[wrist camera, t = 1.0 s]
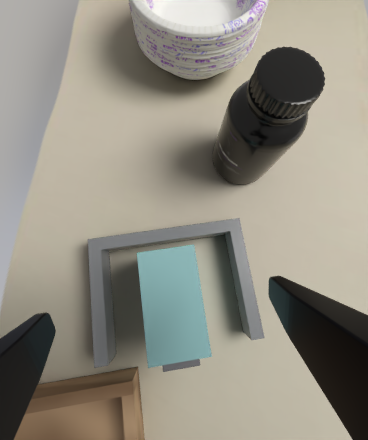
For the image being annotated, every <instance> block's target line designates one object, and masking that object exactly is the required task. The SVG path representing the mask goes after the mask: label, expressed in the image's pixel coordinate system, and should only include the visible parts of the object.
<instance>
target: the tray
mask: <svg viewBox="0 0 368 440" xmlns="http://www.w3.org/2000/svg"><path fill="white" fill-rule="evenodd" d="M14 440H145V439H144V428H143V417H142V406H141V395H140V384H139V373H138V367H135V368H129V369H124V370H118V371H112V372H107V373H101V374H95V375H90V376H84V377H79V378H73V379H67V380H62V381H56V382H50V383H45V384H39V385H37V387H36V390H35V392H34V394H33V397H32V399H31V401H30V403H29V406H28V408H27V410H26V413H25V415H24V417H23V420H22V422H21V424H20V427H19V429H18V431H17V434H16V436H15V438H14Z"/></svg>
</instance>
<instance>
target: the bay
mask: <svg viewBox="0 0 368 440" xmlns="http://www.w3.org/2000/svg"><path fill="white" fill-rule="evenodd" d="M219 235H225V238H226V243H227V248H228V254H229V259H230V264H231V269H232V275H233V280H234V285H235V290H236V296H237V301H238V306H239V311H240V317H241V322H242V327H243V332H244V333H245V334H246V335H247V336H248V337H249V338H250V339H251V340H256V339H262V338H264V334H263V329H262V324H261V319H260V314H259V310H258V305H257V300H256V295H255V291H254V286H253V281H252V276H251V271H250V267H249V262H248V257H247V252H246V247H245V243H244V238H243V233H242V228H241V223H240V219H239V218H236V219H229V220H222V221H215V222H208V223H201V224H194V225H187V226H179V227H172V228H165V229H158V230H151V231H144V232H137V233H130V234H122V235H115V236H108V237H101V238H94V239H88V254H89V273H90V293H91V313H92V332H93V352H94V368H96V367H102V366H107V365H109V363H110V362H111V361H112V359H113V358H114V356H115V355H116V342H115V328H114V314H113V300H112V286H111V272H110V258H109V251H115V250H122V249H129V248H136V247H143V246H150V245H157V244H164V243H171V242H178V241H185V240H192V239H199V238H206V237H212V236H219Z"/></svg>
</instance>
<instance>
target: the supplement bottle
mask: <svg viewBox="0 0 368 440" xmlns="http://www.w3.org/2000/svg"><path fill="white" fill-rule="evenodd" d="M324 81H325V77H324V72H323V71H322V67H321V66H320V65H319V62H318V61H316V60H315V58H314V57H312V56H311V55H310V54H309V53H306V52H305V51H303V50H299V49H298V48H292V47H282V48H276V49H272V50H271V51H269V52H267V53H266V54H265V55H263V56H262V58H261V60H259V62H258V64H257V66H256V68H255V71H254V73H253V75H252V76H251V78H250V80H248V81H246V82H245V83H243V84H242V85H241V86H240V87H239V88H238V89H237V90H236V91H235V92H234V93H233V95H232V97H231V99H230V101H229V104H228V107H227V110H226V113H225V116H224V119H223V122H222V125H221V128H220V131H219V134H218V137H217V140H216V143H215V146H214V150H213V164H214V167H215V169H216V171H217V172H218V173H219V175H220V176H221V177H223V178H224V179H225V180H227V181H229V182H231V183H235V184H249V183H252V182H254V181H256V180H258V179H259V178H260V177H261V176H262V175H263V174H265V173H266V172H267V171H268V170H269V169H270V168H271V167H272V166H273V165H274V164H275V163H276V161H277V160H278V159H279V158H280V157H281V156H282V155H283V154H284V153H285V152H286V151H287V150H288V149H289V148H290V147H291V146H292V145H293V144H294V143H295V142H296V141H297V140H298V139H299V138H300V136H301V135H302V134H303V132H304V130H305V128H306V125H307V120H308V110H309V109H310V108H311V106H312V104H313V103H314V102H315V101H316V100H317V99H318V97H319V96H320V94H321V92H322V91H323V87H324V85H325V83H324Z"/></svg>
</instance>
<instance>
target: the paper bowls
mask: <svg viewBox="0 0 368 440" xmlns="http://www.w3.org/2000/svg"><path fill="white" fill-rule="evenodd" d="M268 1H269V0H129V5H130V11H131V16H132V20H133V25H134V31H135V35H136V38H137V42H138V44H139V47H140V48H141V50H142V51H143V53H144V54H145V55H146V56H147V57H148V58H149V59H150V60H151V61H152V62H153V63H155V64H156V65H158V66H159V67H160V68H162V69H164V70H166V71H168V72H171V73H173V74H174V75H176V76H179V77H181V78H185V79H191V80H200V79H206V78H210V77H212V76H215V75H217V74H219V73H221V72H224V71H227V70H229V69H231V68H233V67H235V66H236V65H238V64H239V63H240V62H241V61H242V60H244V59H245V58H246V56H247V55H248V54H249V52H250V51H251V49H252V47H253V45H254V43H255V41H256V37H257V35H258V31H259V29H260V26H261V23H262V19H263V16H264V14H265V11H266V8H267V5H268Z"/></svg>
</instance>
